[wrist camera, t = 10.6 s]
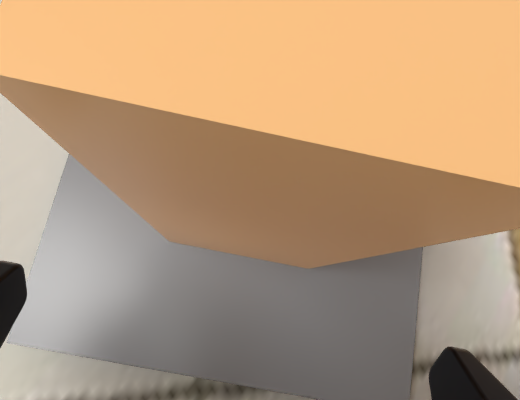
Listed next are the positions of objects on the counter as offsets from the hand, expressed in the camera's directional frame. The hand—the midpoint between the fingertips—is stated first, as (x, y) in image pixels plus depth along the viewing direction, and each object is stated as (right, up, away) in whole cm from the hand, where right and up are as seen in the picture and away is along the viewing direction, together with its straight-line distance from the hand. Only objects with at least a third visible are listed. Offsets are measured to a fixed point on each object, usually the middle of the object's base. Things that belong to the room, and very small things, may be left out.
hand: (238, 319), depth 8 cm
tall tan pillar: (0, +3, +9) cm, 9 cm away
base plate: (0, +3, +10) cm, 10 cm away
